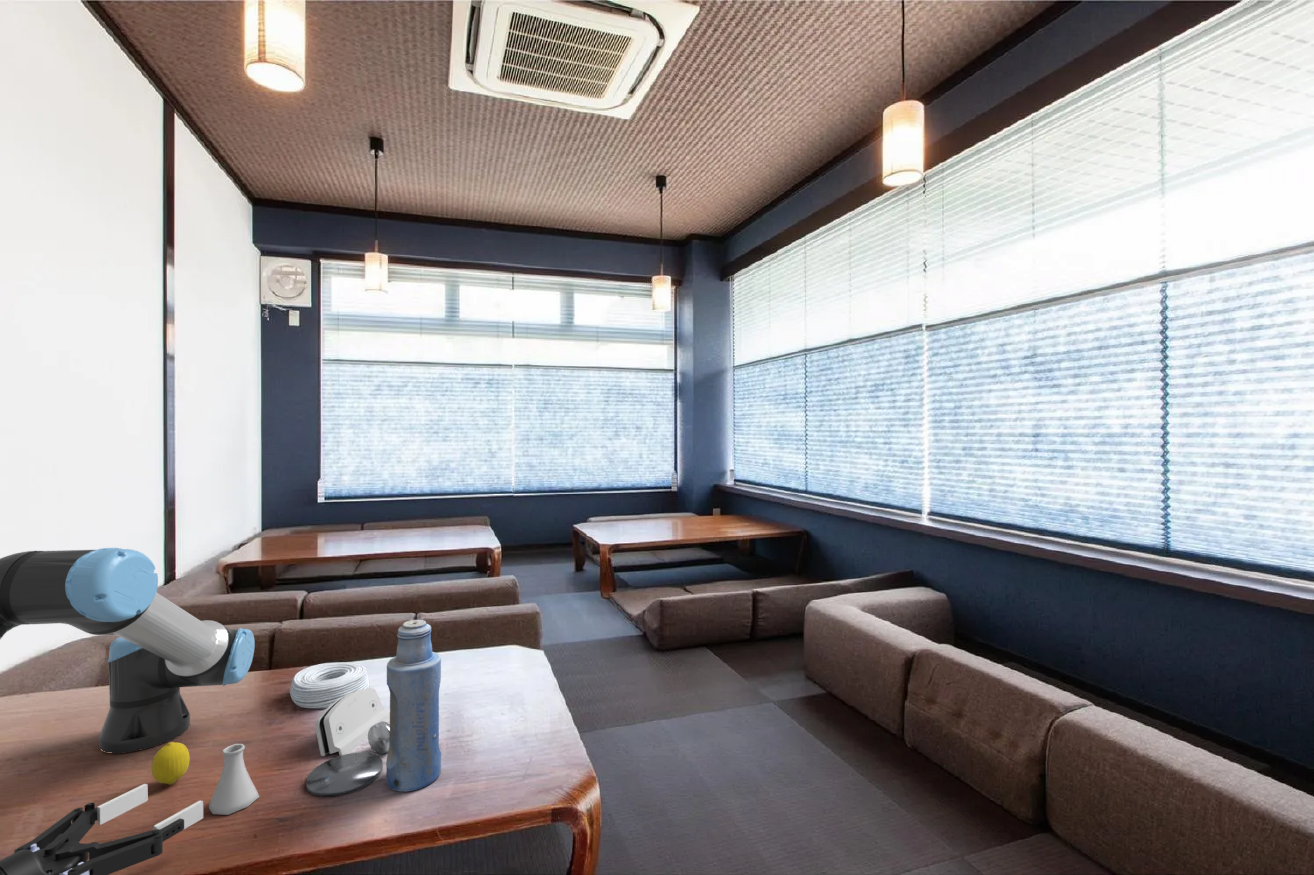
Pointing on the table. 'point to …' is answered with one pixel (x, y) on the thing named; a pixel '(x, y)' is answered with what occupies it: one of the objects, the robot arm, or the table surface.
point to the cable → (327, 683)
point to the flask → (233, 784)
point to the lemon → (170, 763)
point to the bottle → (414, 710)
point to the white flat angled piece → (349, 721)
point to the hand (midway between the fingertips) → (173, 800)
